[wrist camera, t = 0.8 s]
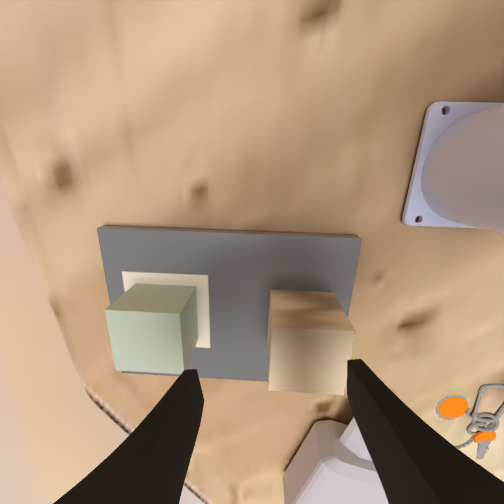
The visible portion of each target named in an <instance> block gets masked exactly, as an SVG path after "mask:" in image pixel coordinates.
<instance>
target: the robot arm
mask: <svg viewBox="0 0 504 504" xmlns="http://www.w3.org/2000/svg"><path fill="white" fill-rule="evenodd" d="M443 107H444V108H445V109H446V113H445V114H444V115H443V114H442V108H443ZM417 216H419V220H418V221H417V222H415V218H416V217H417ZM402 221H403V223H404V224H406V225H409V226H431V227H457V228H481V229H485V230H489V231H493V232H497V233H501V234H504V103H492V102H444V101H439V102H435V103H433V104H431V105H430V106H429V107H428V109H427V111H426V115H425V120H424V124H423V128H422V133H421V137H420V142H419V146H418V150H417V155H416V159H415V164H414V168H413V172H412V177H411V181H410V186H409V190H408V194H407V199H406V203H405V208H404V212H403V217H402ZM347 395H348V398H349V402H350V405H351V408H352V412H353V415H354V418H355V421H356V423H357V425H358V428H359V430H360V433H361V435H362V438H363V440H364V442H365V445H366V447H367V450H368V452H369V454H370V457H371V459H372V462H373V464H374V466H375V469H376V471H377V474H378V476H379V478H380V481H381V484H382V486H383V489H384V491H385V494H386V497H387V500H388V503H389V504H504V482H503V481H501V480H500V479H498V478H497V477H495V476H494V475H493V474H491V473H490V472H488V471H487V470H486V469H484V468H483V467H482V466H480V465H479V464H477V463H476V462H475V461H473V460H472V459H470V458H469V457H468V456H466V455H465V454H464V453H462V452H461V451H460V450H458V449H457V448H456V447H454V446H453V445H452V444H451V443H449V442H448V441H447V440H446V439H444V438H443V437H442V436H441V435H439V434H438V433H437V432H436V431H435V430H433V429H432V428H431V427H430V426H429V425H428V424H426V423H425V422H424V421H423V420H422V419H421V418H420V417H419V416H417V415H416V414H415V413H414V412H413V411H412V410H411V409H410V408H409V407H408V406H406V405H405V404H404V403H403V402H402V401H401V400H400V399H399V398H398V397H397V396H396V395H395V394H394V393H393V392H392V391H391V390H390V389H389V388H388V387H387V386H386V385H385V384H384V383H383V382H382V381H381V380H380V379H379V378H378V377H377V376H376V375H375V374H374V372H373V371H372V370H371V369H370V368H369V367H368V366H367V365H366V364H365V363H364V362H363V361H362V360H361V359H355V360H347ZM203 405H204V398H203V393H202V389H201V385H200V381H199V377H198V372H197V369H188V370H184V371H183V372H182V373H181V375H180V376H179V377H178V379H177V380H176V381H175V382H174V384H173V385H172V386H171V387H170V389H169V390H168V391H167V392H166V394H165V395H164V396H163V397H162V399H161V400H160V401H159V402H158V404H157V405H156V406H155V407H154V408H153V410H152V411H151V412H150V413H149V414H148V415H147V417H146V418H145V419H144V420H143V421H142V422H141V423H140V424H139V426H138V427H137V428H136V429H135V430H134V431H133V432H132V433H131V434H130V435H129V436H128V437H127V438H126V440H125V441H124V442H123V443H122V444H121V445H120V446H119V447H118V448H117V449H116V450H115V451H114V452H113V453H111V455H110V456H108V457H107V458H106V459H105V460H104V461H103V462H102V463H101V464H100V465H98V466H97V467H96V468H95V469H94V470H93V471H92V472H91V473H89V474H88V475H87V476H86V477H85V478H84V479H83V480H82V481H80V482H79V483H78V484H77V485H76V486H74V487H73V488H72V489H71V490H70V491H68V492H67V493H66V494H65V495H63V496H62V497H61V498H60V499H58V500H57V501H56V502H55V503H53V504H179V501H180V496H181V492H182V488H183V484H184V480H185V477H186V473H187V470H188V466H189V463H190V459H191V456H192V452H193V449H194V445H195V442H196V438H197V434H198V431H199V427H200V423H201V417H202V411H203Z"/></svg>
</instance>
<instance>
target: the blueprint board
mask: <svg viewBox="0 0 504 504" xmlns="http://www.w3.org/2000/svg"><path fill="white" fill-rule="evenodd" d="M97 232H98V237H99V243H100V249H101V254H102V260H103V266H104V271H105V277H106V283H107V289H108V294H109V300H110V305H111V304H112V303H113V302H114V301H116V300H117V299H118V298H119V297H120V296H121V295H123V294H124V293H125V292H126V291H127V290H128V289H130V288H131V287H132V286H133V285H134V284H135V283H136V284H158V285H179V286H196V295H197V316H198V337H199V338H198V341H197V343H196V346H195V348H194V351H193V353H192V356H191V358H190V361H189V364H188V366H187V369H186V370H188V369H197V372H198V377H201V378H217V379H234V380H250V381H267V382H268V356H267V335H268V318H269V301H270V289H275V290H296V291H317V292H333V293H334V295H335V297H336V298H337V300H338V302H339V303H340V305H341V307H342V309H343V310H344V312H345V314H346V315H347V317H348V312H349V307H350V301H351V296H352V290H353V284H354V279H355V273H356V268H357V262H358V256H359V251H360V245H361V240H362V238H360V237H359V236H357V235H339V234H314V233H289V232H263V231H238V230H212V229H187V228H161V227H136V226H111V225H104V226H101V227H98V228H97ZM122 373H134V374H151V375H167V376H180V375H181V374H169V373H152V372H135V371H122Z"/></svg>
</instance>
